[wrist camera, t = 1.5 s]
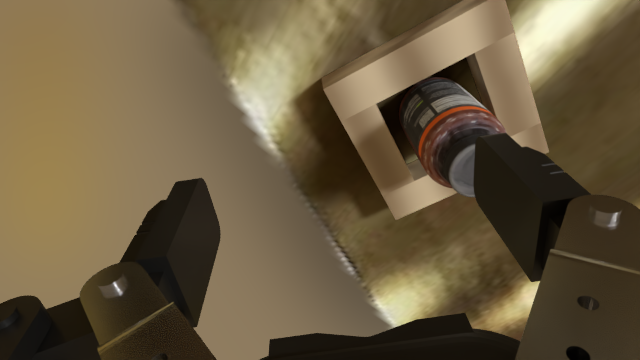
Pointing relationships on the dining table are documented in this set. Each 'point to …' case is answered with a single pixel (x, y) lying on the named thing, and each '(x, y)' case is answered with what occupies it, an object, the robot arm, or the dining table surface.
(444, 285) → the dining table surface
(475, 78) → the pocket block
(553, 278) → the robot arm
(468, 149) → the supplement bottle
